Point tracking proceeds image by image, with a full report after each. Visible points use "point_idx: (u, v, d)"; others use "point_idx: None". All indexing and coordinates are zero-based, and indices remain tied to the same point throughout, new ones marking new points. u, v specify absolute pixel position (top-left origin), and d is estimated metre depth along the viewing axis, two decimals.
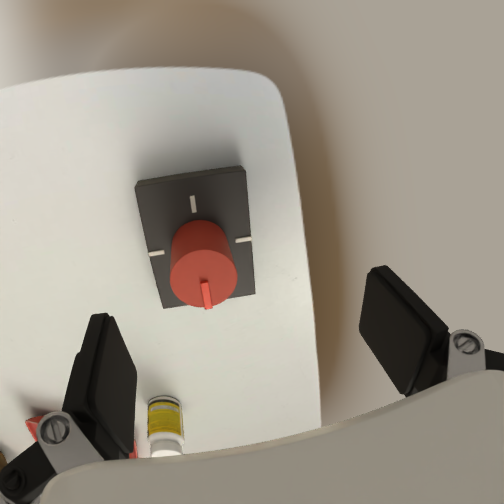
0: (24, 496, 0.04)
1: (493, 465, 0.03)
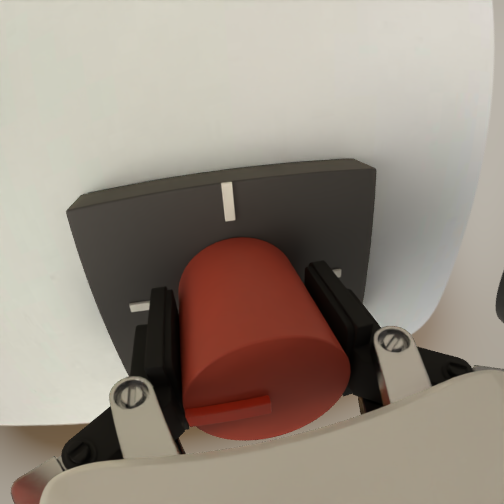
0: None
1: (493, 465, 0.03)
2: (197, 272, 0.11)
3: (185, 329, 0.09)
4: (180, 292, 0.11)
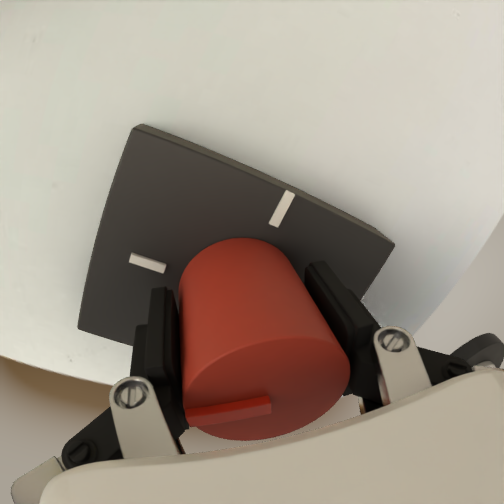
0: None
1: (493, 465, 0.03)
2: (197, 272, 0.11)
3: (185, 329, 0.09)
4: (180, 292, 0.11)
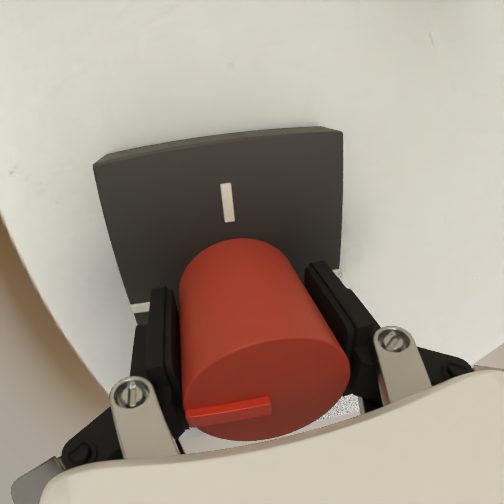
0: None
1: (493, 465, 0.03)
2: (197, 273, 0.11)
3: (185, 330, 0.09)
4: (180, 293, 0.11)
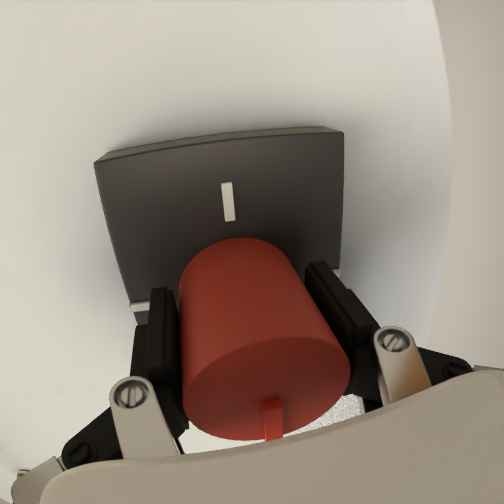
0: None
1: (493, 465, 0.03)
2: None
3: None
4: None
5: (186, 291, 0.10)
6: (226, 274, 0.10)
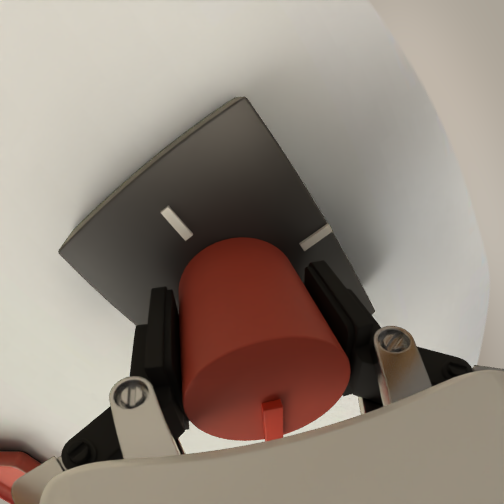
0: None
1: (493, 465, 0.03)
2: None
3: None
4: None
5: (186, 291, 0.10)
6: (226, 274, 0.10)
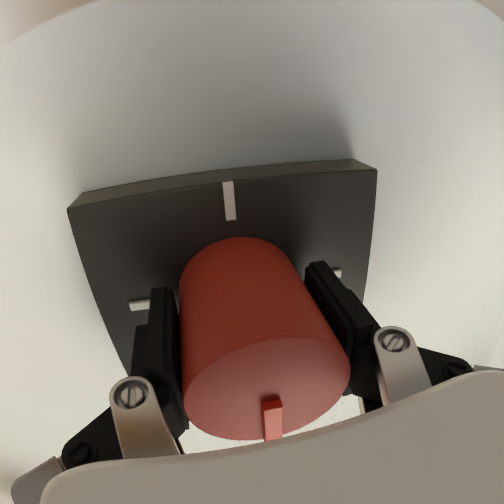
0: None
1: (493, 465, 0.03)
2: None
3: None
4: None
5: (186, 290, 0.10)
6: (227, 273, 0.10)
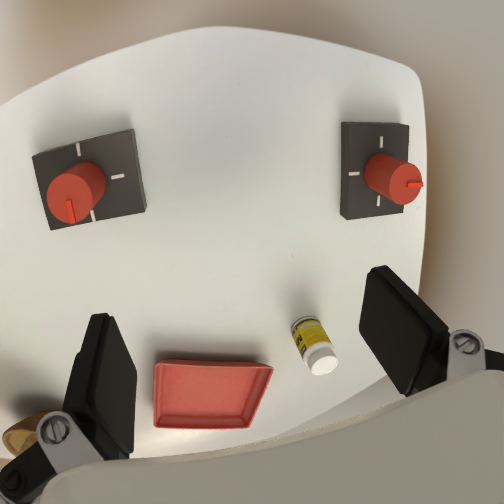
0: (24, 495, 0.04)
1: (493, 465, 0.03)
2: None
3: None
4: None
5: None
6: (70, 168, 0.27)
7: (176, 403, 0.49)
